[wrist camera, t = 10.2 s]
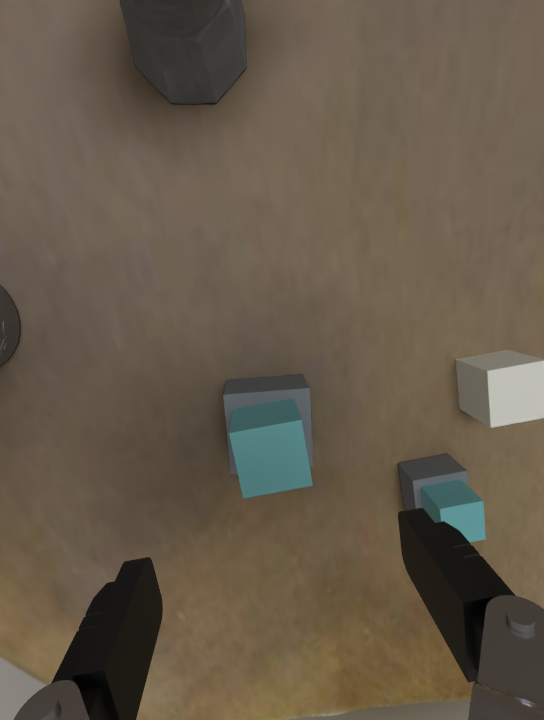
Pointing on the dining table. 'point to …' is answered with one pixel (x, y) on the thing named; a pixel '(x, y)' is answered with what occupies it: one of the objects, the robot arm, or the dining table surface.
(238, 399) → the charcoal block
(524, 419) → the cream block
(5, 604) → the dining table surface
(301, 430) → the teal block
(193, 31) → the coffeepot
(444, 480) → the stack
